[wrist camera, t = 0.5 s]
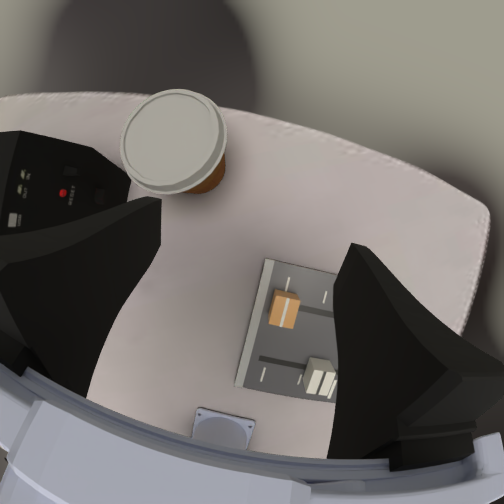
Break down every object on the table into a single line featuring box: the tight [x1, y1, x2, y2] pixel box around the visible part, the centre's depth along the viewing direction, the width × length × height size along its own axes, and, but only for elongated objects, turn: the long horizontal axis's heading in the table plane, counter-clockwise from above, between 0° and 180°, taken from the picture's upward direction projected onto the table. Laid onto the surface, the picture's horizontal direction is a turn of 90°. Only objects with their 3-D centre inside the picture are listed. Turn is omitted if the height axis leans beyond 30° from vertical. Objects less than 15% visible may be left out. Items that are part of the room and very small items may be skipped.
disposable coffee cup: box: [120, 89, 227, 194], centre depth 27 cm, size 10×10×12 cm
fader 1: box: [268, 289, 300, 329], centre depth 30 cm, size 3×2×4 cm
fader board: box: [234, 258, 338, 403], centre depth 32 cm, size 16×16×2 cm
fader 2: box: [303, 357, 336, 396], centre depth 30 cm, size 3×2×4 cm
